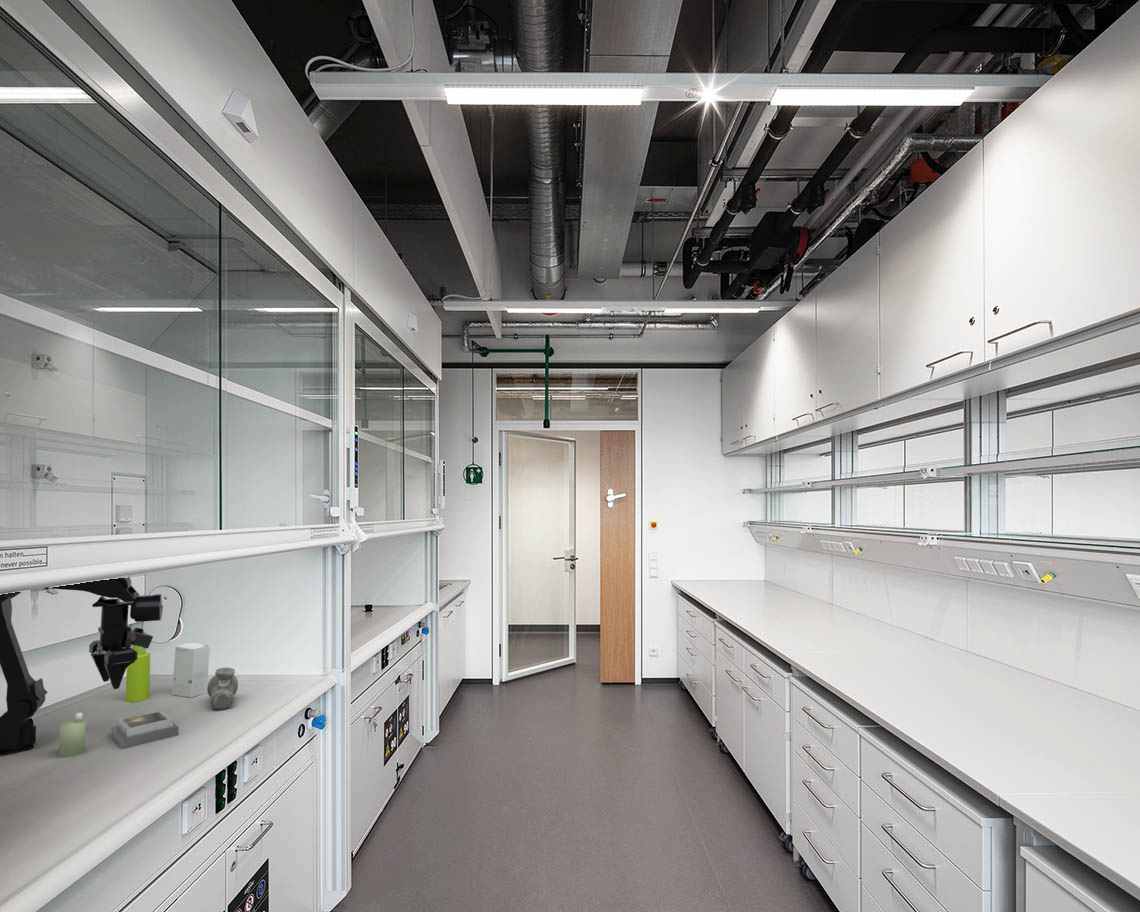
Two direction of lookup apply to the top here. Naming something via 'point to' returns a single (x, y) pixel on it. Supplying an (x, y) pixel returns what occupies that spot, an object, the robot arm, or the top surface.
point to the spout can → (72, 736)
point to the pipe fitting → (222, 688)
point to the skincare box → (190, 669)
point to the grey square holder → (143, 729)
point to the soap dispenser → (138, 676)
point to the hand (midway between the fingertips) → (110, 685)
